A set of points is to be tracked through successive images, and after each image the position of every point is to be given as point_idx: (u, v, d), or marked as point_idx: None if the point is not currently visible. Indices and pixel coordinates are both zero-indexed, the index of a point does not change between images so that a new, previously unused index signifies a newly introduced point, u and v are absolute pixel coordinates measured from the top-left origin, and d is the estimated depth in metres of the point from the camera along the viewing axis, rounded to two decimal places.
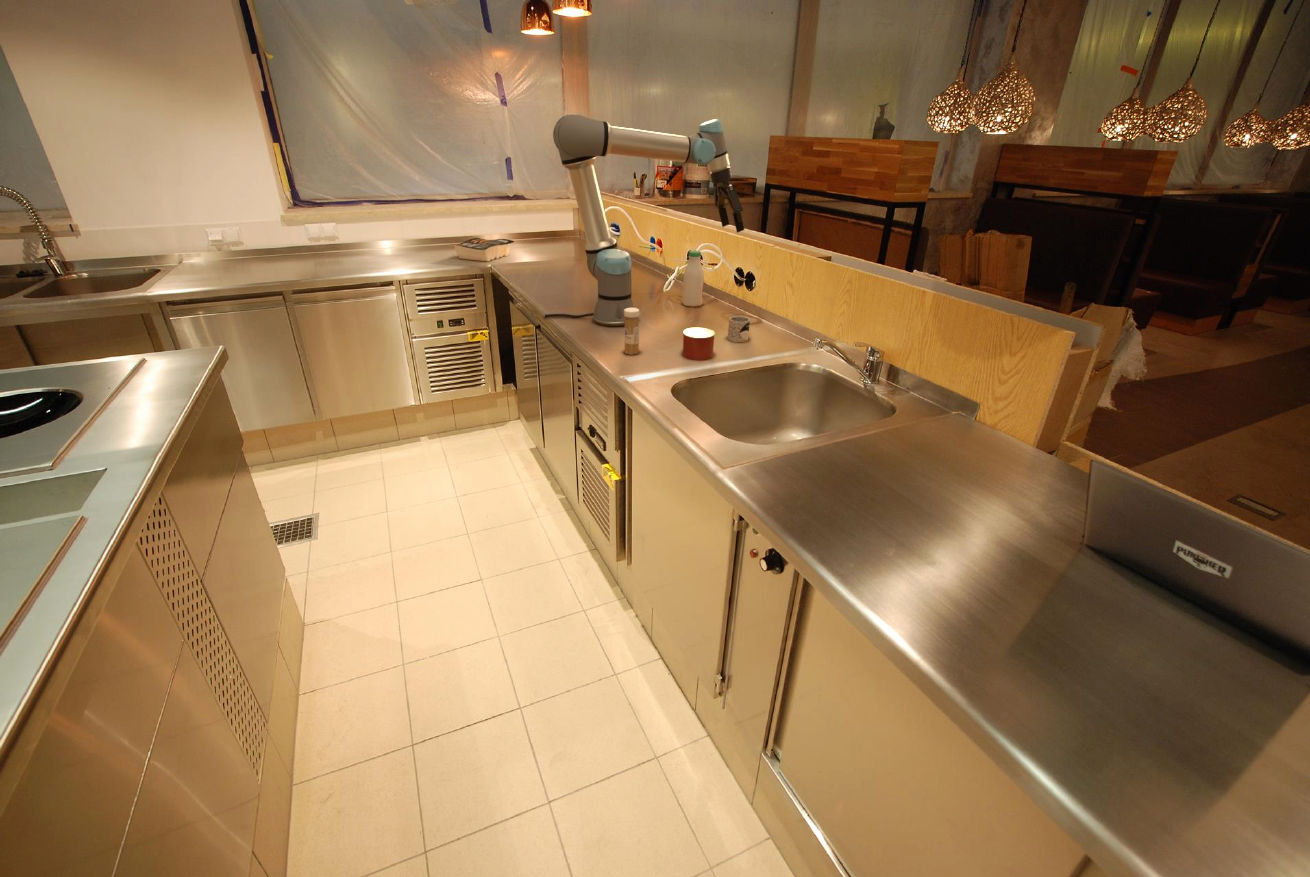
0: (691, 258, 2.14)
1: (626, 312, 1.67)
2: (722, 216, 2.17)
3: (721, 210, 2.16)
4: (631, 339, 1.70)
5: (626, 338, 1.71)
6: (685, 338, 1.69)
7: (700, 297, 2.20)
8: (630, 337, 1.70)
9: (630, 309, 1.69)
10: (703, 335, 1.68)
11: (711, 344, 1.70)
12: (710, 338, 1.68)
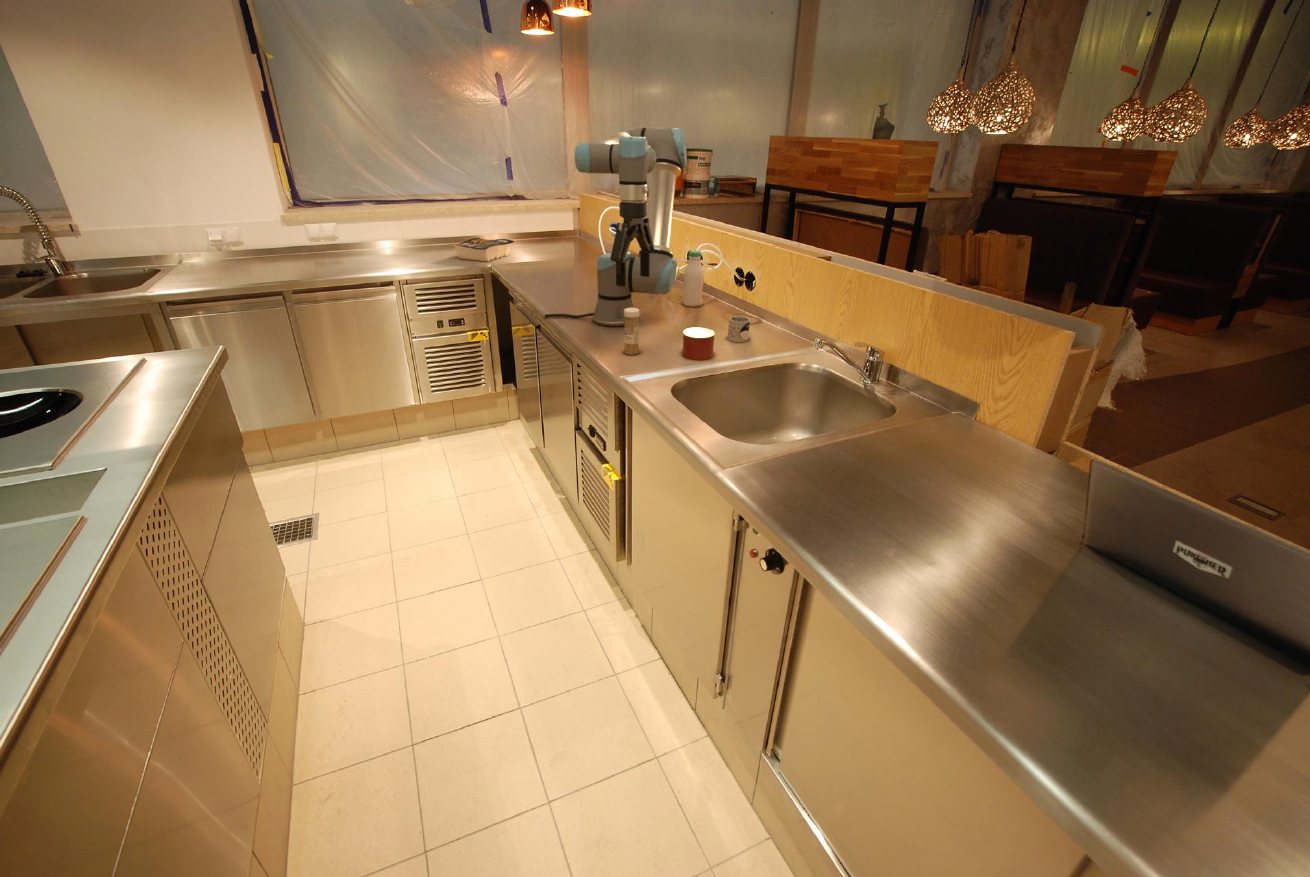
0: (691, 258, 2.14)
1: (626, 312, 1.67)
2: (642, 263, 1.68)
3: (642, 255, 1.67)
4: (631, 339, 1.70)
5: (626, 338, 1.71)
6: (685, 338, 1.69)
7: (700, 297, 2.20)
8: (630, 337, 1.70)
9: (630, 309, 1.69)
10: (703, 335, 1.68)
11: (711, 344, 1.70)
12: (710, 338, 1.68)
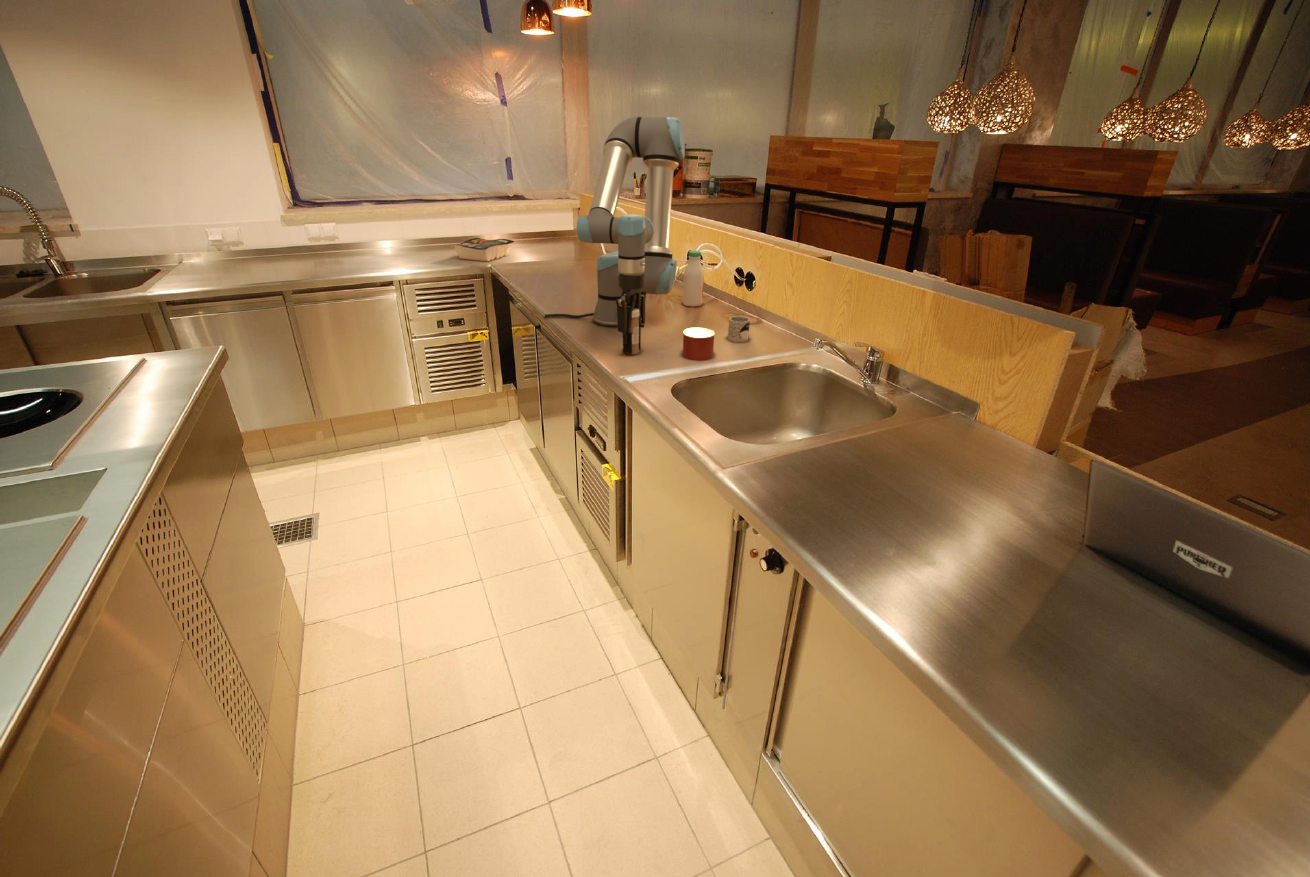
0: (691, 258, 2.14)
1: None
2: None
3: None
4: None
5: None
6: (685, 338, 1.69)
7: (700, 297, 2.20)
8: None
9: None
10: (703, 335, 1.68)
11: (711, 344, 1.70)
12: (710, 338, 1.68)
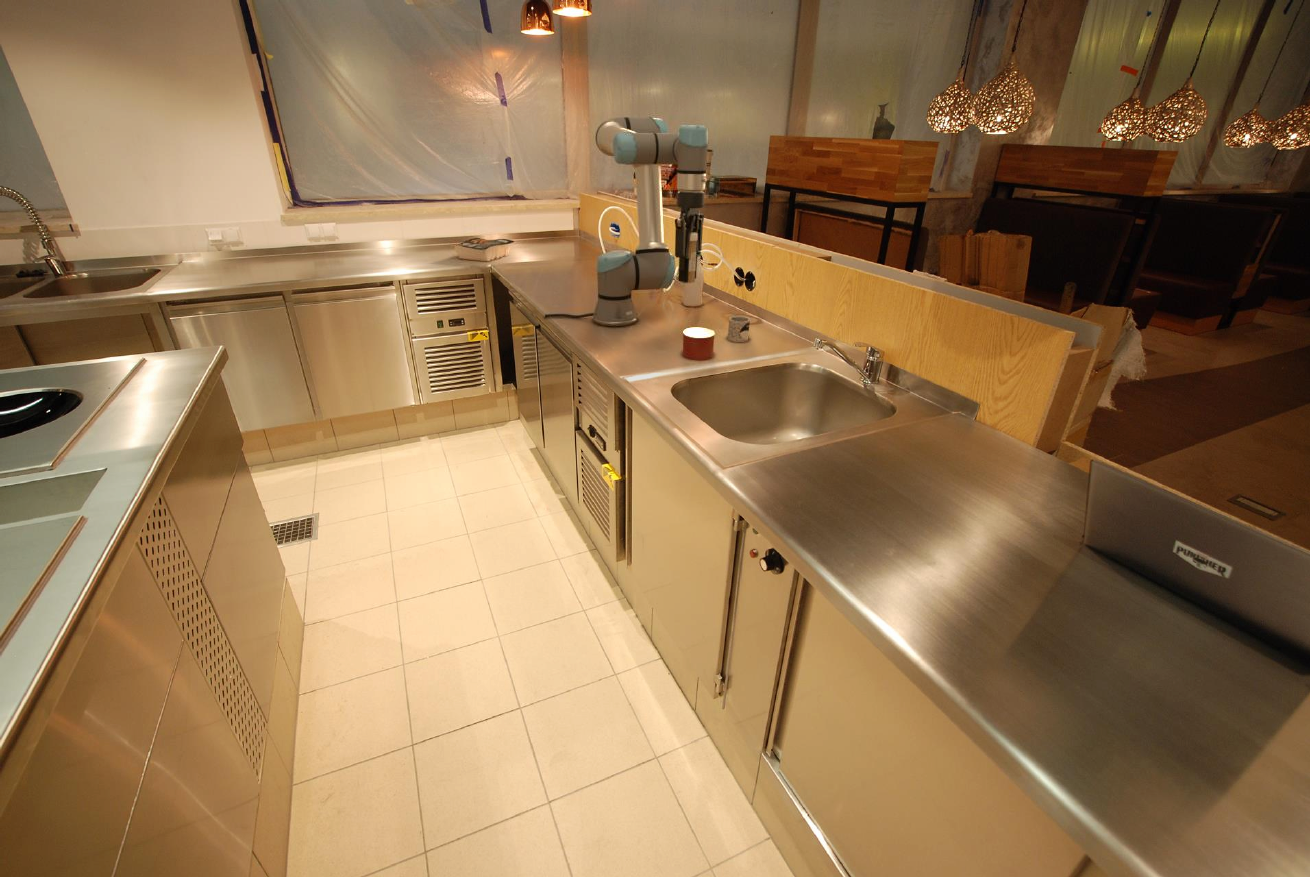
0: None
1: None
2: None
3: None
4: None
5: None
6: (685, 338, 1.69)
7: (700, 297, 2.20)
8: None
9: None
10: (703, 335, 1.68)
11: (711, 344, 1.70)
12: (710, 338, 1.68)
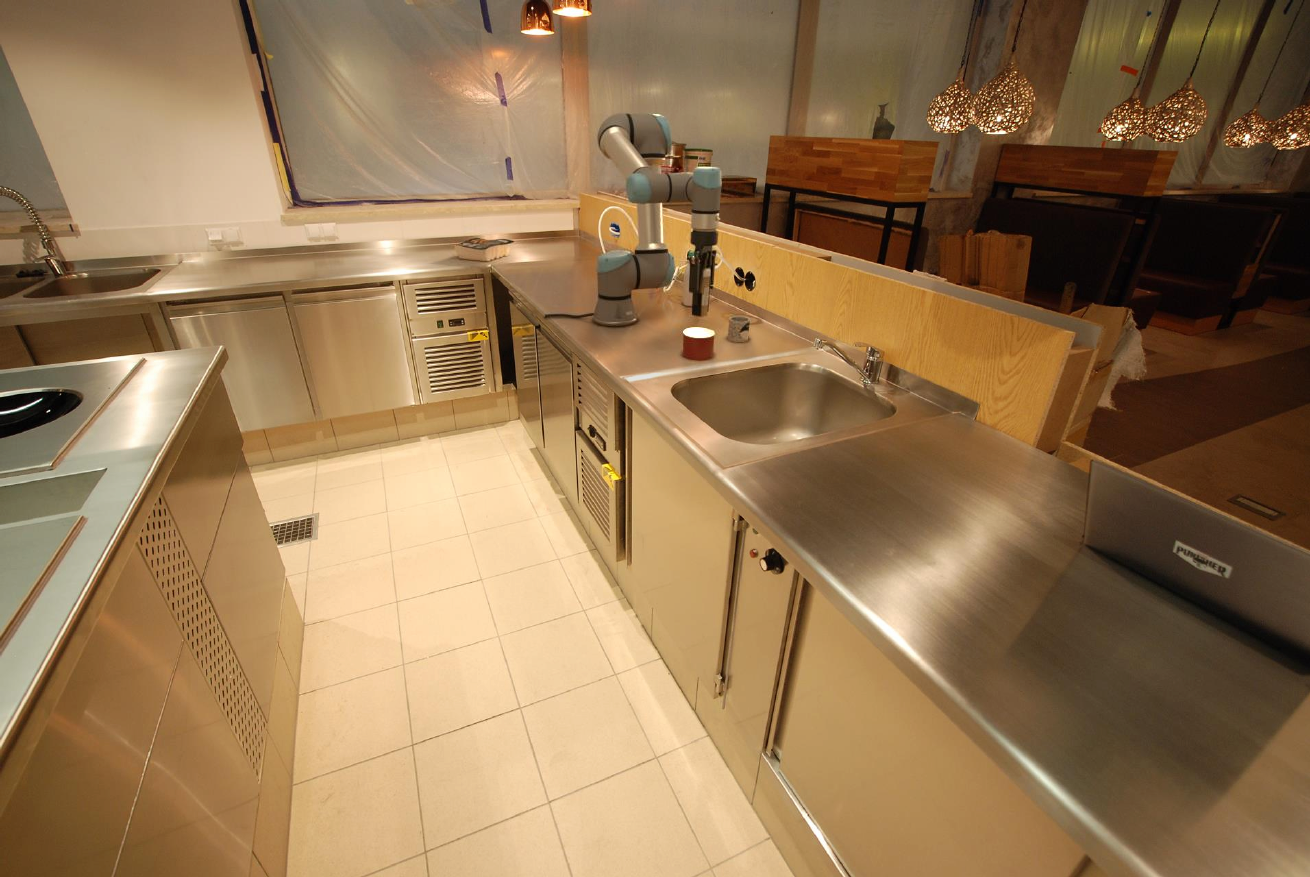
0: None
1: None
2: None
3: None
4: None
5: None
6: (685, 338, 1.69)
7: None
8: None
9: None
10: (703, 335, 1.68)
11: (711, 344, 1.70)
12: (710, 338, 1.68)
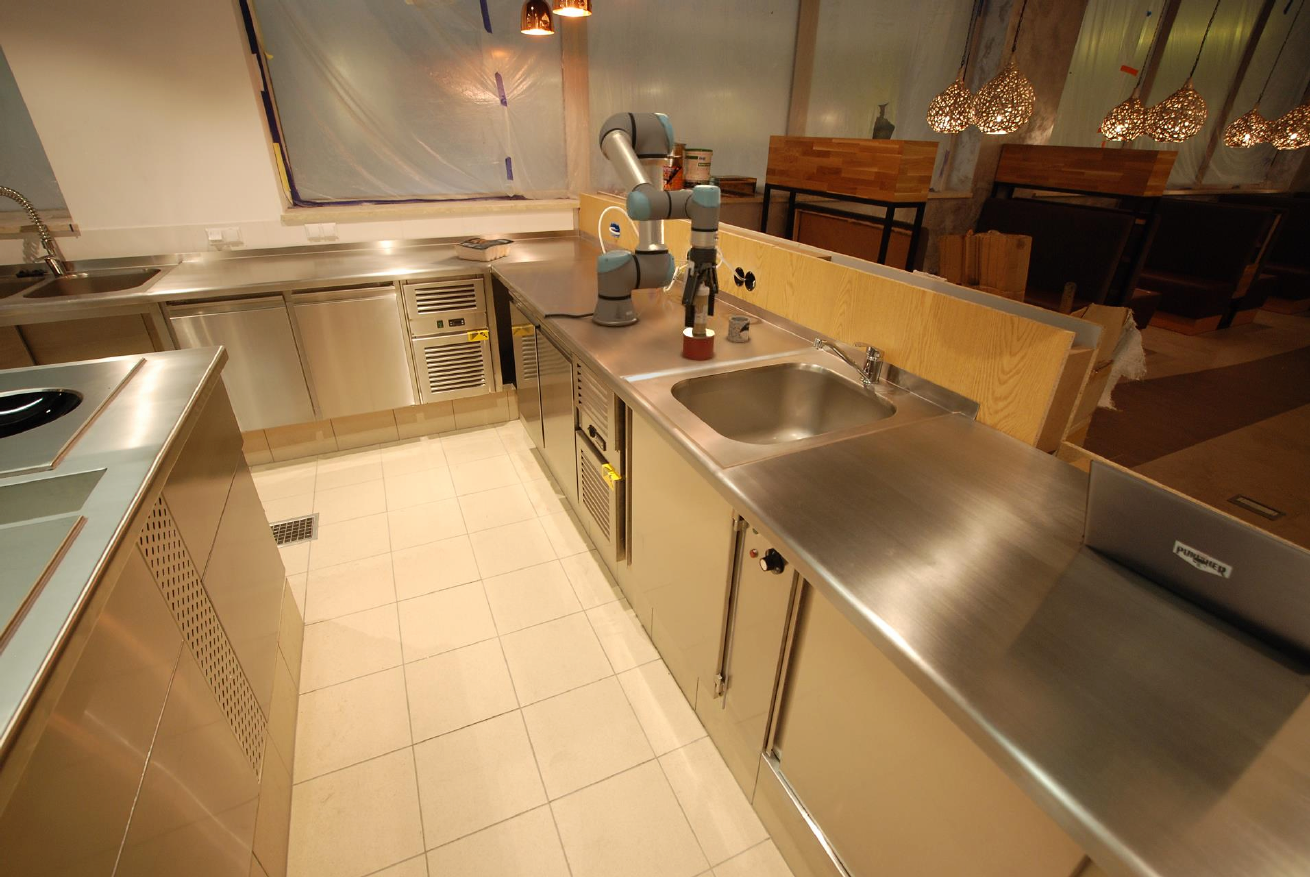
0: None
1: None
2: None
3: None
4: (700, 318, 1.66)
5: (695, 317, 1.67)
6: (685, 338, 1.69)
7: None
8: (699, 316, 1.66)
9: (700, 287, 1.65)
10: (703, 335, 1.68)
11: (711, 344, 1.70)
12: (710, 338, 1.68)
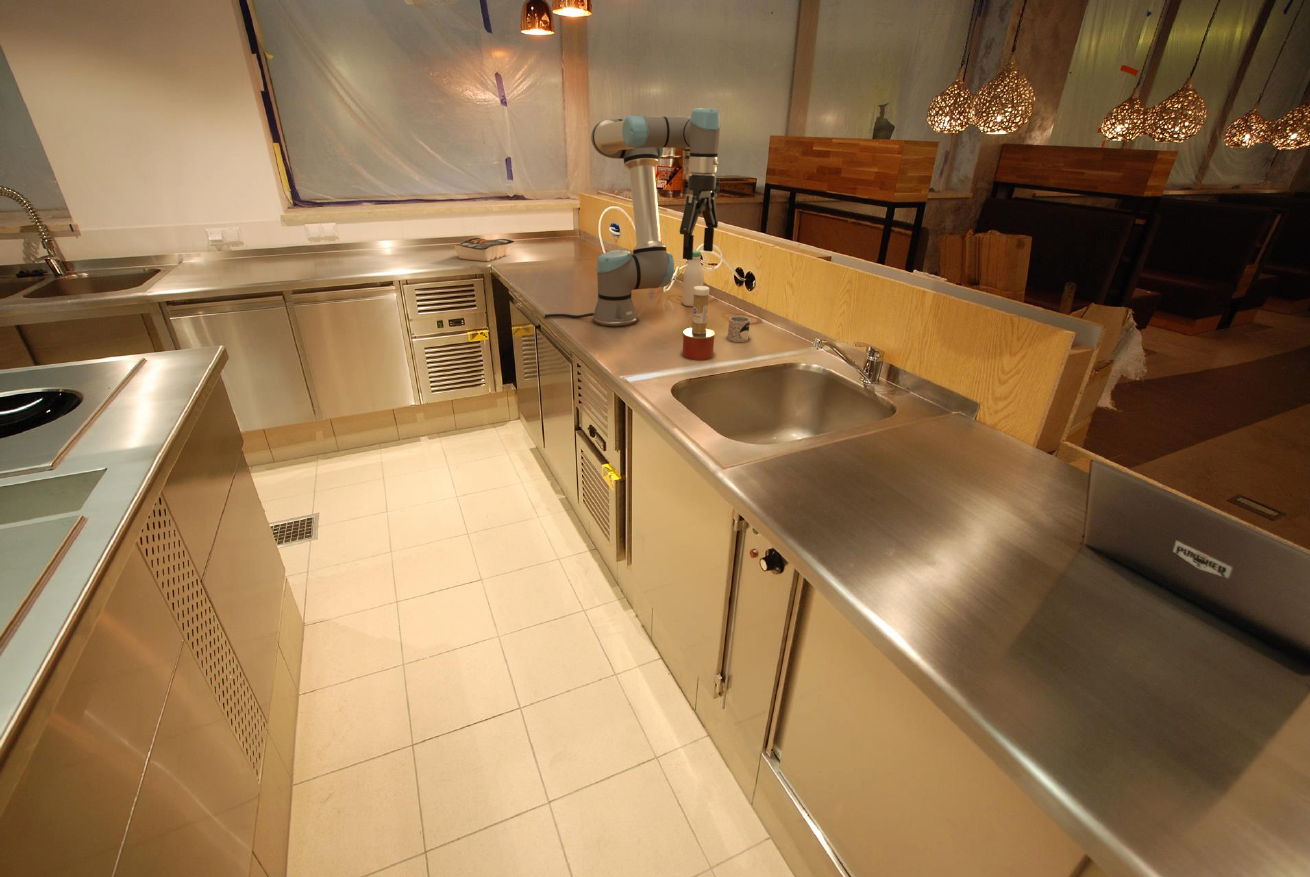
0: None
1: (696, 290, 1.63)
2: (706, 237, 1.68)
3: (707, 230, 1.67)
4: (700, 318, 1.66)
5: (695, 317, 1.67)
6: (685, 338, 1.69)
7: None
8: (699, 316, 1.66)
9: (700, 287, 1.65)
10: (703, 335, 1.68)
11: (711, 344, 1.70)
12: (710, 338, 1.68)
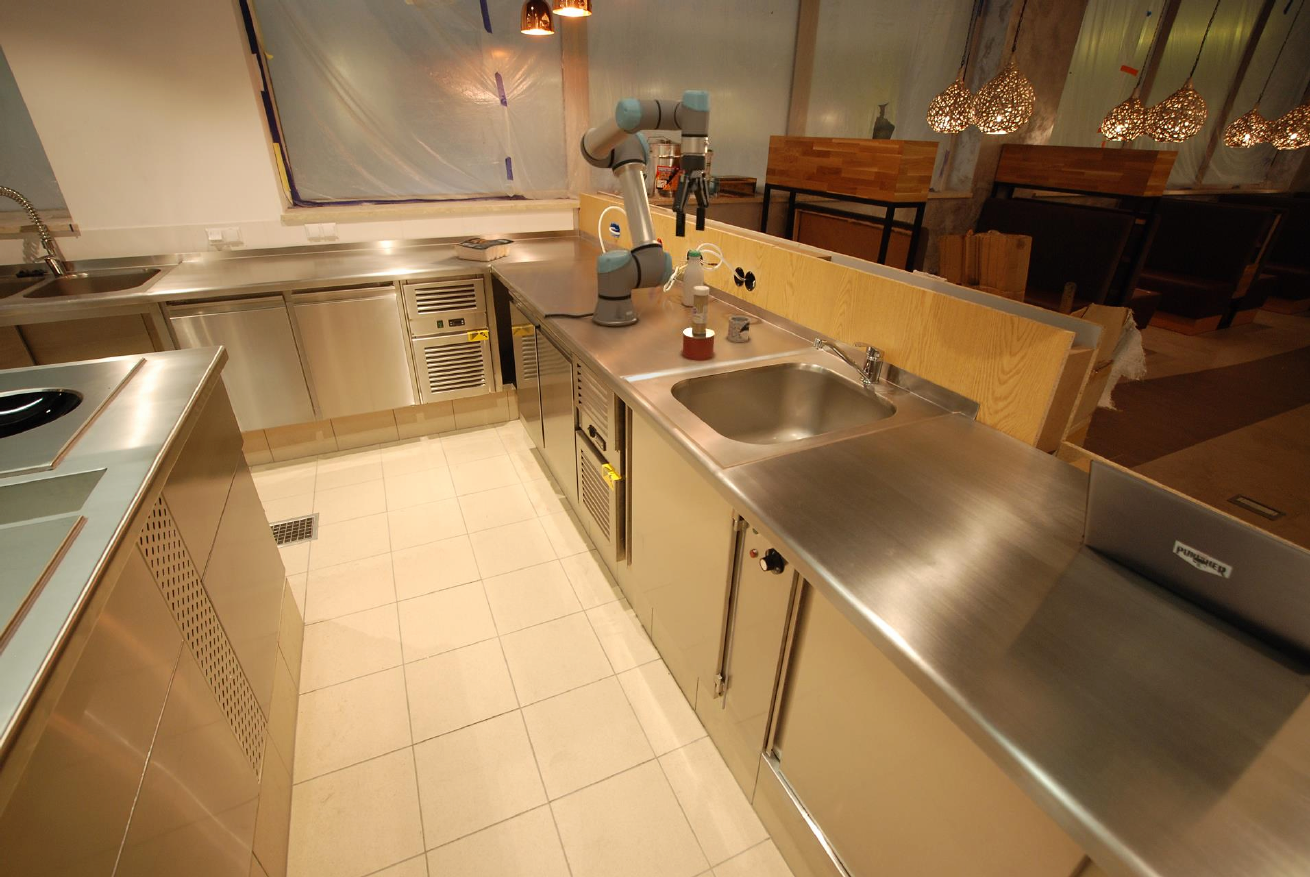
0: (691, 258, 2.14)
1: (696, 290, 1.63)
2: (698, 217, 1.75)
3: (699, 209, 1.74)
4: (700, 318, 1.66)
5: (695, 317, 1.67)
6: (685, 338, 1.69)
7: None
8: (699, 316, 1.66)
9: (700, 287, 1.65)
10: (703, 335, 1.68)
11: (711, 344, 1.70)
12: (710, 338, 1.68)
